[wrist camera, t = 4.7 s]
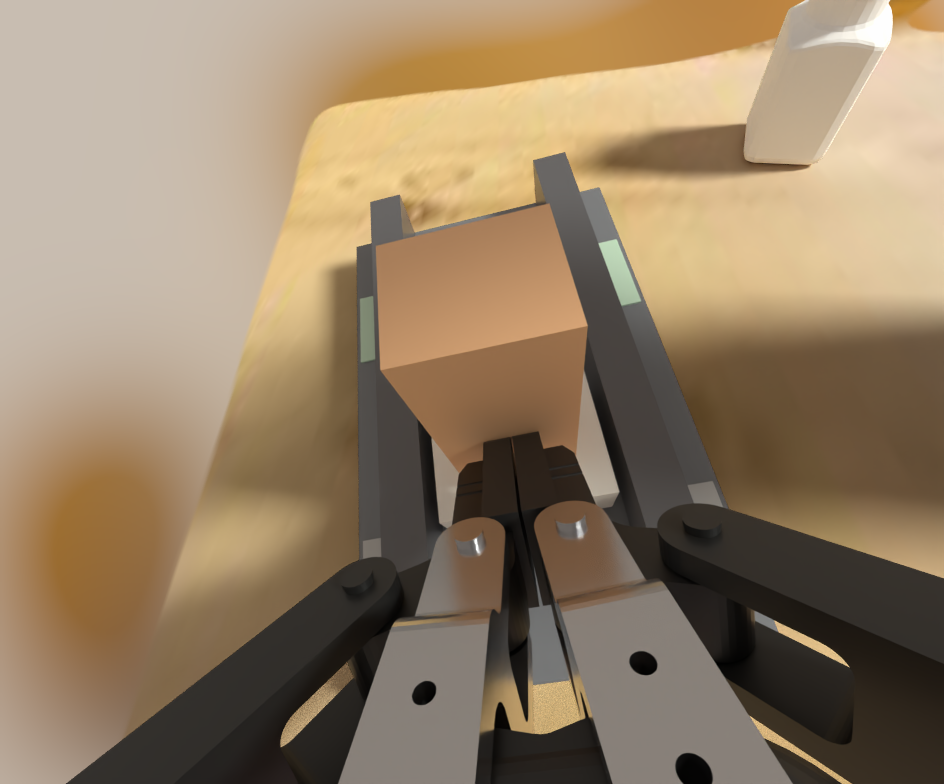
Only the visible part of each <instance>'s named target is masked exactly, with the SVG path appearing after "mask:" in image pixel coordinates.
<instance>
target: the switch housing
mask: <svg viewBox="0 0 944 784" xmlns="http://www.w3.org/2000/svg"><path fill="white" fill-rule="evenodd" d="M533 166H534V181H535V197H536V203H534V204H530V205H526V206H522V207H517V208H513V209H509V210H505V211H501V212H497V213H493V214H489V215H485V216H481V217H477V218H473V219H469V220H465V221H461V222H457V223H453V224H448V225H444V226H440V227H436V228H432V229H428V230H424V231H420V232H416V233H415V232H414V230H413V227H412V225H411V222H410V220H409V217H408V214H407V212H406V209H405V207H404V204H403V202H402V199H401V197H400V195H397V196H393V197H389V198H385V199H381V200H377V201H373V202H370V205H371V238H372V243H371V244H367V245H363V246H359V247H357V337H358V457H359V560H361V559H365V558H370V557H383V558H387V559H389V560H391V561H392V562H393V563H394V565H395V567H396V569H397V572H398V573H399V572H401V571H404V570H406V569H409V568H411V567H414V566H416V565H419V564H421V563H423V562H425V561H427V560H429V559H430V558H432V555H433V551H434V548H435V544H436V542H437V539H438V538H439V536H440V535H441V534H442V533H443V532H444V531H445V530H446V529H447V528H446V527H444V526H443V525H441V524H440V523H439V513H438V502H437V492H436V481H435V470H434V459H433V448H432V438H431V436H430V434H429V433H428V432H427V431H426V429H425V428H424V427H423V425H422V424H421V423H420V421H419V420H418V419H417V417H416V416H415V415H414V414H413V412H412V411H411V410H410V408H409V407H408V406H407V404H406V403H405V402H404V400H403V399H402V398H401V397H400V395H399V394H398V393H397V391H396V390H395V389H394V387H393V386H392V385H391V384H390V382H389V381H388V380H387V378H386V377H385V376H384V374H383V373H382V372H381V370H380V348H379V320H378V293H377V266H376V246H378V245H382V244H386V243H390V242H394V241H398V240H402V239H406V238H410V237H414V236H418V235H422V234H426V233H431V232H435V231H439V230H443V229H447V228H451V227H455V226H459V225H463V224H467V223H471V222H475V221H479V220H484V219H488V218H492V217H496V216H500V215H504V214H508V213H512V212H516V211H520V210H524V209H528V208H532V207H536V206H541V205H545V204H550V207H551V210H552V213H553V217H554V220H555V223H556V226H557V229H558V233H559V236H560V239H561V242H562V245H563V249H564V252H565V255H566V258H567V261H568V264H569V268H570V271H571V274H572V277H573V280H574V284H575V287H576V290H577V293H578V296H579V300H580V303H581V306H582V309H583V312H584V316H585V319H586V322H587V325H588V329H587V340H586V351H585V362H584V372H585V376H586V379H587V383H588V386H589V389H590V393H591V396H592V400H593V403H594V407H595V410H596V413H597V417H598V420H599V424H600V427H601V431H602V434H603V437H604V441H605V444H606V448H607V451H608V455H609V458H610V462H611V465H612V468H613V472H614V475H615V479H616V482H617V486H618V489H619V494H618V496H617V498H616V500H615V502H614V504H613V506H612V507H607V508H602V509H603V510H604V511H605V512H606V514H607V515H608V517H609V519H610V520H611V521H614V522H616V523H619V524H622V525H626V526H632V527H646V528H657V523H658V520H659V518H660V516H661V515H662V514H663V513H664V512H666V511H667V510H669V509H671V508H673V507H676V506H679V505H683V504H691V503H702V504H711V505H716V506H720V507H723V508H727V509H729V508H728V506H727V503H726V501H725V498H724V496H723V493H722V491H721V488H720V486H719V483H718V481H717V478H716V476H715V473H714V471H713V468H712V466H711V463H710V461H709V458H708V456H707V453H706V451H705V448H704V446H703V444H702V441H701V439H700V436H699V434H698V431H697V429H696V426H695V424H694V421H693V419H692V416H691V414H690V411H689V409H688V406H687V404H686V401H685V399H684V396H683V394H682V391H681V389H680V386H679V384H678V381H677V379H676V376H675V374H674V372H673V369H672V367H671V364H670V362H669V359H668V357H667V354H666V352H665V349H664V347H663V344H662V342H661V339H660V337H659V334H658V332H657V329H656V327H655V324H654V322H653V319H652V317H651V314H650V312H649V309H648V307H647V304H646V302H645V300H644V297H643V295H642V292H641V290H640V287H639V285H638V282H637V280H636V277H635V275H634V272H633V270H632V267H631V265H630V262H629V260H628V257H627V255H626V252H625V250H624V247H623V245H622V242H621V240H620V237H619V235H618V232H617V230H616V228H615V225H614V223H613V220H612V218H611V215H610V213H609V210H608V208H607V205H606V203H605V200H604V198H603V195H602V193H601V190H600V188H595V189H591V190H587V191H582V192H579V189H578V186H577V184H576V181H575V178H574V176H573V173H572V170H571V167H570V165H569V162H568V159H567V157H566V154H565V152H564V153H560V154H556V155H552V156H548V157H545V158H541V159H537V160H533ZM534 571H535V568H534ZM535 578H536V585H537V592H538V599H539V606H540V607H534V608H529V616H530V629H529V632H530V636H531V641H532V665H533V685H537V684H545V683H553V682H561V681H568V680H569V677H568V673H567V669H566V666H565V662H564V658H563V654H562V651H561V647H560V643H559V639H558V635H557V630H556V626H555V621H554V616H553V612H552V607H551V605H546V606H543V604H542V599H541V595H540V591H539V586H538V582H537V577H536V573H535ZM755 621H757V622H759V623H761V624H763V625H765V626H767V627H769V628H771V629H773V630H775V631H777V632H778V630H777V627H776V625H775V622H774V620H773V619H771V618H769V617H767V616H764V615H762V614H760V613H758V612H756V611H755Z"/></svg>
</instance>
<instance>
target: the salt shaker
mask: <svg viewBox="0 0 944 784" xmlns="http://www.w3.org/2000/svg"><path fill="white" fill-rule="evenodd" d="M889 1H890V0H805V1H804V2H802V3H800V4H798V5H796V6H794V7H792V8H790V9H789V11H788V12H787V15H786V17H785V20H784V23H783V25H782V28H781V31H780V33H779V36H778V39H777V41H776V44H775V46H774V49H773V52H772V54H771V57H770V60H769V62H768V65H767V68H766V70H765V73H764V76H763V78H762V81H761V83H760V86H759V89H758V91H757V94H756V97H755V99H754V102H753V105H752V107H751V110H750V113H749V115H748V118H747V124H746V133H745V142H744V157H745V159H746V160H747V161H750V162H754V163H778V164H803V165H810V164H814V163H817V162H818V161H819V160H820V159H821V158H822V157H823V156H824V154H825V153H826V151H827V150H828V148H829V146H830V144H831V143H832V141H833V139H834V138H835V136H836V134H837V132H838V131H839V129H840V127H841V125H842V124H843V122H844V120H845V119H846V117H847V115H848V113H849V112H850V110H851V108H852V106H853V105H854V103H855V101H856V100H857V98H858V96H859V94H860V93H861V91H862V89H863V88H864V86H865V84H866V82H867V81H868V79H869V77H870V75H871V74H872V72H873V70H874V69H875V67H876V65H877V63H878V62H879V60H880V58H881V56H882V55H883V53H884V51H885V50H886V48H887V46H888V44H889V43H890V40H891V33H892V11H891V8H890V6H889V4H888V3H889Z"/></svg>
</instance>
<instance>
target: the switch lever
mask: <svg viewBox="0 0 944 784" xmlns="http://www.w3.org/2000/svg"><path fill="white" fill-rule="evenodd" d="M376 266H377V293H378V320H379V348H380V370H381V372H382V373H383V374H384V376H385V377H386V378H387V380H388V381H389V382H390V384H391V385H392V386H393V387H394V389H395V390H396V391H397V393H398V394H399V395H400V397H401V398H402V399H403V400H404V402H405V403H406V404H407V406H408V407H409V408H410V410H411V411H412V412H413V414H414V415H415V416H416V417H417V419H418V420H419V421H420V423H421V424H422V425H423V427H424V428H425V429H426V431H427V432H428V433H429V434H430V436H431V438H432V448H433V459H434V470H435V481H436V492H437V502H438V513H439V523H440V524H441V525H443V526H444V527H446V528H449V527H450V526H452V520H453V512H454V505H455V497H456V490H457V482H458V475H459V473H460V472H461V471H462V469H463V468H464V467H465V466H466V465H467V463H472V462H477V461H482V460H483V442H487V441H492V440H497V439H502V438H507V437H510V439H511V443H512V447H513V440H512V436H517V435H522V434H527V433H532V432H537V431H539V434H540V438H541V442H542V445H543V449H544V448H550V447H555V446H560V445H563V446H565V447H566V448H568V449H569V450H571V451H573V452H574V453H575V456H576V458H577V461H578V463H579V465H580V468H581V470H582V473H583V475H584V477H585V479H586V482H587V484H588V487H589V489H590V491H591V494H592V496H593V498H594V501H595V503H596V505H597V506H599V507H601V508H607V507H612V506H613V504H614V502H615V500H616V498H617V496H618V494H619V489H618V486H617V482H616V479H615V475H614V472H613V468H612V465H611V462H610V458H609V455H608V451H607V448H606V444H605V441H604V437H603V434H602V431H601V427H600V424H599V420H598V417H597V413H596V410H595V407H594V403H593V400H592V396H591V393H590V389H589V386H588V383H587V379H586V376H585V372H584V362H585V351H586V340H587V329H588V325H587V322H586V319H585V316H584V312H583V309H582V306H581V303H580V300H579V296H578V293H577V290H576V287H575V284H574V280H573V277H572V274H571V271H570V268H569V264H568V261H567V258H566V255H565V252H564V249H563V245H562V242H561V239H560V236H559V233H558V229H557V226H556V223H555V220H554V217H553V213H552V210H551V207H550V204H545V205H541V206H536V207H532V208H528V209H524V210H520V211H516V212H512V213H508V214H504V215H500V216H496V217H492V218H488V219H484V220H479V221H475V222H471V223H467V224H463V225H459V226H455V227H451V228H447V229H443V230H439V231H435V232H431V233H426V234H422V235H418V236H414V237H410V238H406V239H402V240H398V241H394V242H390V243H386V244H382V245H378V246H376ZM513 452H514V448H513Z"/></svg>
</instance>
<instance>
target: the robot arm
mask: <svg viewBox="0 0 944 784" xmlns="http://www.w3.org/2000/svg"><path fill="white" fill-rule="evenodd" d="M512 440H513V447H512V443H511V439H510V437H507V438H502V439H497V440H492V441H487V442H483V460H482V461H477V462H472V463H467V465H466V466H465V467H464V468H463V469H462V471H461V472H460V473H459V475H458V482H457V490H456V497H455V505H454V512H453V520H452V526H450V527H449V528H447V529H446V530H445V531H444V532H443V533H442V534H441V535H440V536H439V538H438V539H437V542H436V544H435V548H434V551H433V555H432V558H430V559H429V560H427V561H425V562H423V563H421V564H419V565H416V566H414V567H411V568H409V569H406V570H404V571H401V572H399V573H398V572H397V569H396V567H395V565H394V563H393V562H392V561H391V560H389V559H387V558H383V557H370V558H365V559H361V560H358V561H356V562H354V563H351V564H349V565H348V566H346V567H344V568H343V569H341V570H340V571H339V572H337V573H336V574H335V575H333V576H332V577H331V578H330V579H328V580H327V581H326V582H324V583H323V584H322V585H321V586H319V587H318V588H317V589H315V590H314V591H313V592H312V593H310V594H309V595H308V596H307V597H305V598H304V599H303V600H301V601H300V602H299V603H298V604H296V605H295V606H294V607H292V608H291V609H290V610H289V611H287V612H286V613H285V614H283V615H282V616H281V617H280V618H278V619H277V620H276V621H274V622H273V623H272V624H271V625H269V626H268V627H267V628H265V629H264V630H263V631H262V632H260V633H259V634H258V635H256V636H255V637H254V638H253V639H251V640H250V641H249V642H247V643H246V644H245V645H244V646H242V647H241V648H240V649H238V650H237V651H236V652H235V653H233V654H232V655H231V656H229V657H228V658H227V659H226V660H224V661H223V662H222V663H220V664H219V665H218V666H217V667H215V668H214V669H213V670H211V671H210V672H209V673H208V674H206V675H205V676H204V677H202V678H201V679H200V680H199V681H197V682H196V683H195V684H193V685H192V686H191V687H190V688H188V689H187V690H186V691H185V692H183V693H182V694H181V695H179V696H178V697H177V698H176V699H174V700H173V701H172V702H170V703H169V704H168V705H167V706H165V707H164V708H163V709H161V710H160V711H159V712H158V713H156V714H155V715H154V716H152V717H151V718H150V719H149V720H147V721H146V722H145V723H143V724H142V725H141V726H140V727H138V728H137V729H136V730H134V731H133V732H132V733H131V734H129V735H128V736H127V737H125V738H124V739H123V740H122V741H120V742H119V743H118V744H116V745H115V746H114V747H113V748H111V749H110V750H109V751H107V752H106V753H105V754H104V755H102V756H101V757H100V758H99V759H97V760H96V761H95V762H93V763H92V764H91V765H89V766H88V767H87V768H86V769H84V770H83V771H82V772H81V773H79V774H78V775H77V776H75V777H74V778H73V779H71V780H70V781H69V782H68V783H66V784H841V783H840V782H838V781H837V780H836V779H834V778H833V777H831V776H830V775H828V774H827V773H826V772H824V771H823V770H821V769H820V768H818V767H817V766H815V765H814V764H812V763H810V762H808V761H807V760H805V759H803V758H802V757H800V756H798V755H796V754H795V753H793V752H791V751H790V750H788V749H785V748H783V747H781V746H779V745H777V744H775V743H773V742H771V741H769V740H767V739H764V738H763V737H762V735H761V733H760V732H759V730H758V729H757V727H756V726H755V724H754V723H753V721H752V719H751V718H750V716H751V717H753V718H754V719H756V720H757V721H759V722H760V723H762V724H763V725H765V726H766V727H768V728H769V729H771V730H772V731H774V732H775V733H777V734H778V735H780V736H781V737H783V738H784V739H786V740H787V741H789V742H790V743H792V744H793V745H795V746H796V747H798V748H799V749H801V750H802V751H804V752H805V753H807V754H808V755H810V756H811V757H813V758H814V759H816V760H817V761H819V762H820V763H822V764H823V765H825V766H826V767H828V768H829V769H831V770H832V771H834V772H835V773H837V774H838V775H840V776H841V777H843V778H844V779H846V780H847V781H849V782H850V783H852V784H944V578H940V577H937V576H934V575H931V574H928V573H925V572H922V571H919V570H916V569H913V568H909V567H906V566H903V565H900V564H897V563H894V562H891V561H888V560H885V559H882V558H878V557H875V556H872V555H869V554H866V553H863V552H860V551H857V550H854V549H851V548H847V547H844V546H841V545H838V544H835V543H832V542H829V541H826V540H823V539H820V538H816V537H813V536H810V535H807V534H804V533H801V532H798V531H795V530H792V529H789V528H785V527H782V526H779V525H776V524H773V523H770V522H767V521H764V520H761V519H758V518H754V517H751V516H748V515H745V514H742V513H739V512H736V511H733V510H730V509H727V508H723V507H720V506H716V505H711V504H702V503H691V504H683V505H679V506H676V507H673V508H671V509H669V510H667V511H666V512H664V513H663V514H662V515H661V516H660V518H659V520H658V523H657V528H646V527H632V526H626V525H622V524H619V523H616V522H614V521H611V520H610V519H609V517H608V515H607V514H606V512H605V511H604V510H603V509H602V508H601V507H599V506H597V505H596V503H595V501H594V498H593V496H592V494H591V491H590V489H589V487H588V484H587V482H586V479H585V477H584V475H583V473H582V470H581V468H580V465H579V463H578V461H577V458H576V456H575V453H574V452H573V451H571V450H569V449H568V448H566V447H565V446H563V445H560V446H555V447H550V448H544V449H543V445H542V442H541V438H540V434H539V431H537V432H532V433H527V434H522V435H517V436H512ZM513 448H514V452H513ZM534 568H535V571H534ZM535 573H536V577H537V582H538V586H539V591H540V595H541V599H542V604H543V606H546V605H551V607H552V612H553V616H554V621H555V626H556V630H557V635H558V639H559V643H560V647H561V651H562V654H563V658H564V662H565V666H566V669H567V673H568V677H569V680H570V684H571V688H572V691H573V695H574V699H575V703H576V706H577V710H578V714H579V717H580V721H577V722H575V723H573V724H570V725H568V726H565V727H563V728H561V729H558V730H556V731H554V732H551V733H548V734H534V706H533V665H532V641H531V636H530V632H529V629H530V616H529V608H534V607H540V606H539V599H538V592H537V585H536V578H535ZM755 611H756V612H758V613H760V614H762V615H764V616H767V617H769V618H771V619H773V620H775V621H777V622H779V623H781V624H783V625H785V626H787V627H789V628H791V629H794V630H796V631H798V632H800V633H802V634H804V635H806V636H808V637H810V638H812V639H814V640H816V641H819V642H820V643H822V644H824V645H826V646H827V647H829V648H831V649H832V650H833V651H835V652H836V653H837V654H838V655H839V656H840V657H842V658H843V660H844V661H845V662H846V663H847V664H848V665H849V667H850V668H849V667H847V666H845V665H843V664H841V663H839V662H837V661H835V660H833V659H831V658H829V657H827V656H825V655H823V654H821V653H819V652H817V651H815V650H813V649H811V648H809V647H807V646H805V645H803V644H801V643H799V642H797V641H795V640H793V639H791V638H789V637H787V636H785V635H783V634H781V633H779V632H777V631H775V630H773V629H771V628H769V627H767V626H765V625H763V624H761V623H759V622H757V621H755ZM346 662H347V663H348V665H349V667H350V670H351V672H352V675H353V677H354V678H353V679H352V680H351V681H350V682H349V683H348V684H347V685H346V686H345V687H344V688H343V689H342V690H341V691H340V692H339V693H338V694H337V695H336V696H335V697H334V698H333V699H332V700H331V701H330V702H329V703H328V704H327V705H326V706H325V707H324V708H323V709H322V710H321V711H320V712H319V713H318V714H317V715H316V716H315V717H314V718H313V719H312V720H311V721H310V722H309V723H308V724H307V725H306V726H305V728H304V729H303V730H302V731H301V732H300V733H299V734H298V735H297V736H296V737H295V738H294V739H293V740H291V741H290V742H289V743H288V744H286V745H285V746H283V747H280V740H281V735H282V732H283V729H284V727H285V725H286V723H287V722H288V720H289V719H290V717H291V716H292V715H293V714H294V713H295V712H296V711H297V710H298V709H299V708H300V707H301V706H302V705H303V704H304V703H305V702H306V701H307V700H308V699H309V698H310V697H311V696H312V695H313V694H314V693H315V692H316V691H317V690H318V689H319V688H320V687H321V686H323V685H324V684H325V683H326V682H327V681H328V680H329V679H330V678H331V677H332V676H333V675H334V674H335V673H336V672H337V671H338V670H339V669H340V668H341V667H342V666H343V665H344V664H345V663H346Z"/></svg>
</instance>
